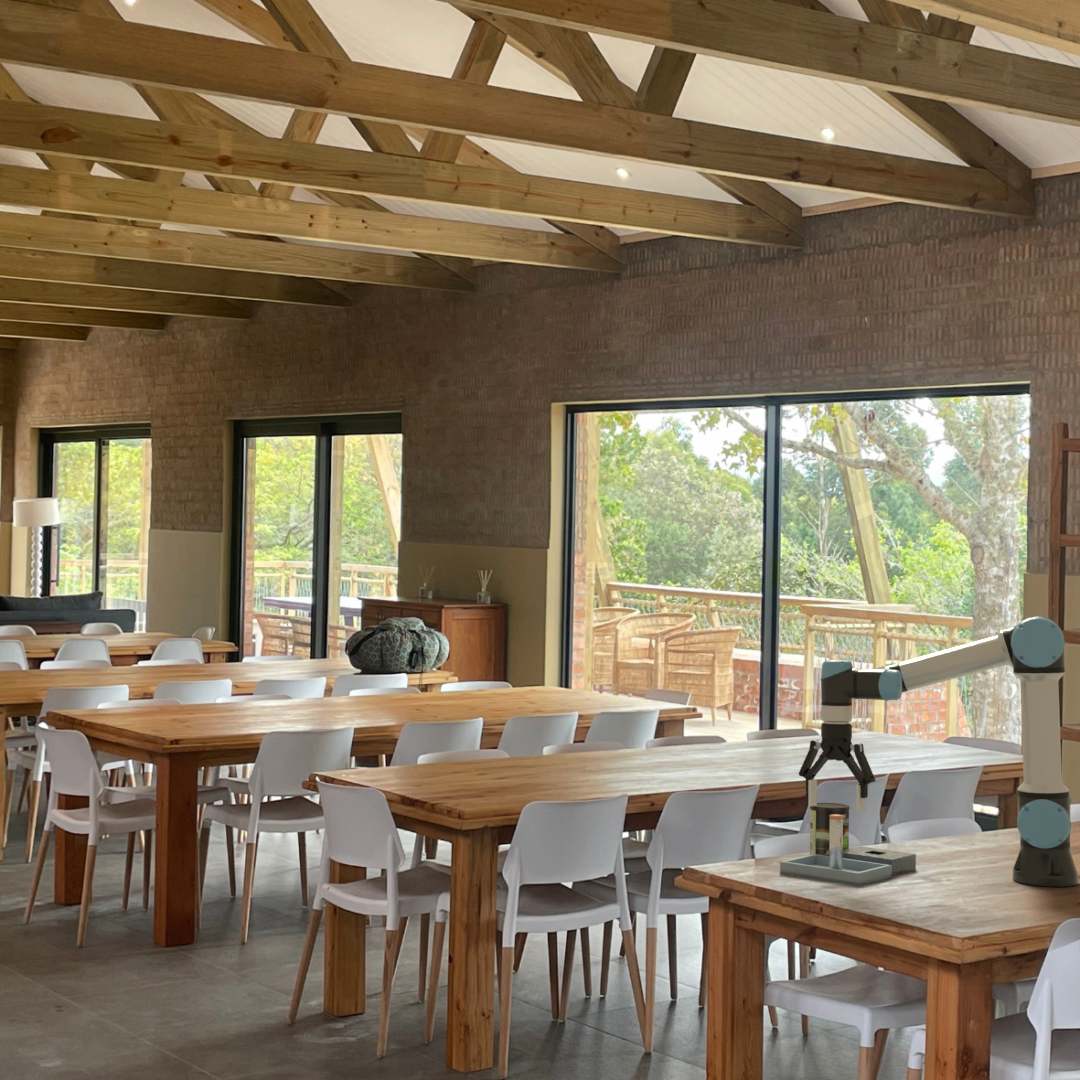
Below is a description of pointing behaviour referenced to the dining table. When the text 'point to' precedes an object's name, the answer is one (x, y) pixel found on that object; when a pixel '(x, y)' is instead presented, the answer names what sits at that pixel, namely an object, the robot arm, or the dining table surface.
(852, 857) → the block
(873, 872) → the parts tray
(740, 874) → the dining table surface
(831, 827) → the orange capped tube
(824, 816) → the coffee can
